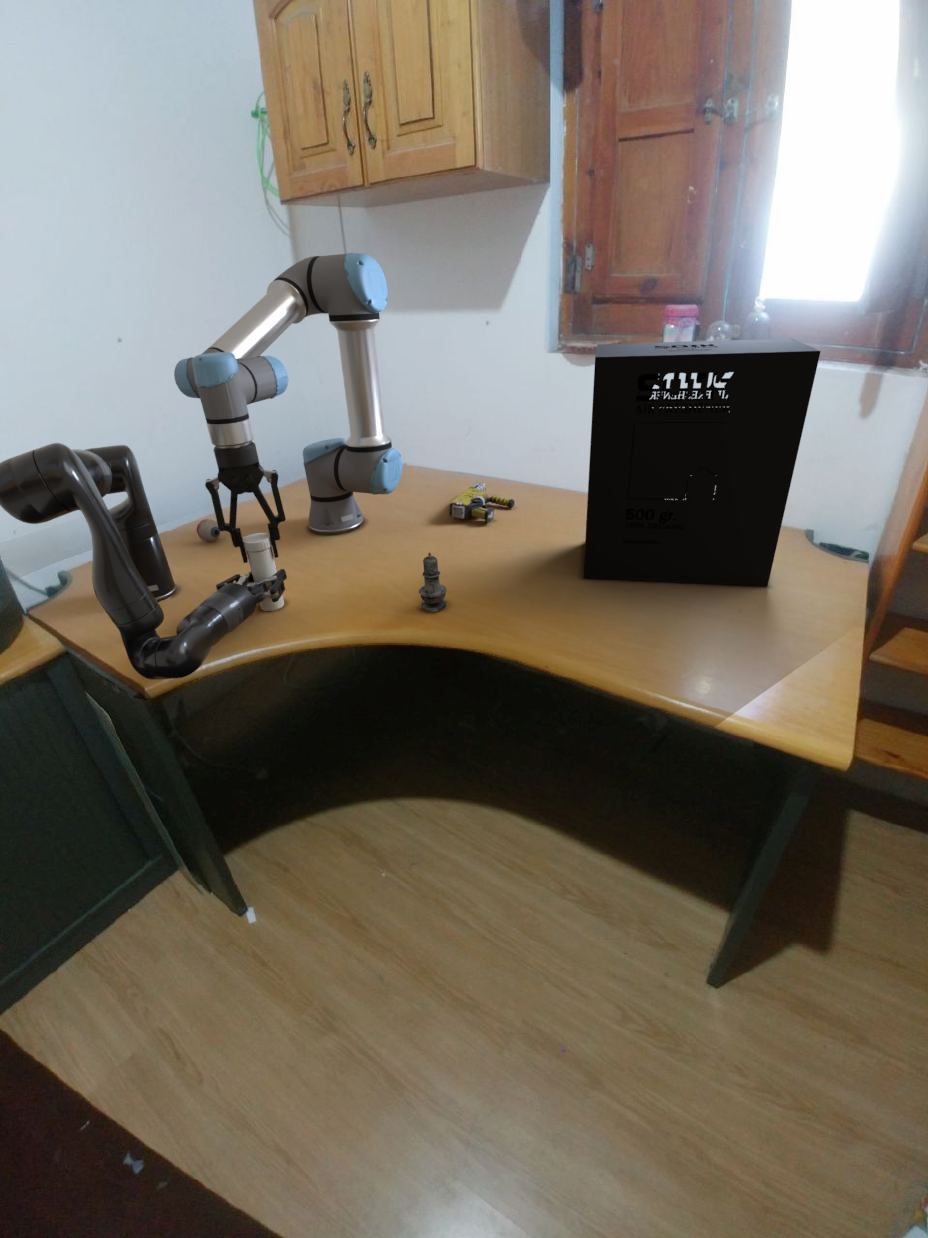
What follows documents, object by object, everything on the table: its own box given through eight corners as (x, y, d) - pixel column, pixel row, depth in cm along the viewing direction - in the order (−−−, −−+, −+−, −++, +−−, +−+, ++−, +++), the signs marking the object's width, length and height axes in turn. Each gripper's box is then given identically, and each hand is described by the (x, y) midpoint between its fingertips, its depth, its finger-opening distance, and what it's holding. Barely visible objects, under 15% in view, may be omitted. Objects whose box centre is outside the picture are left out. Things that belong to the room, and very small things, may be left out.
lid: (247, 542, 125) (245, 533, 124) (275, 540, 125) (273, 531, 124) (241, 552, 120) (238, 544, 119) (269, 550, 120) (267, 542, 119)
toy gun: (522, 487, 180) (475, 480, 184) (500, 511, 160) (447, 502, 164) (521, 502, 182) (474, 495, 186) (499, 527, 162) (447, 519, 166)
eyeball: (210, 546, 160) (204, 525, 157) (195, 542, 163) (189, 521, 160) (228, 538, 164) (223, 518, 161) (213, 535, 167) (208, 514, 164)
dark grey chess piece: (444, 613, 122) (440, 559, 116) (416, 611, 123) (411, 558, 117) (450, 599, 127) (447, 547, 121) (424, 598, 128) (419, 546, 122)
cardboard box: (748, 547, 142) (790, 338, 120) (767, 586, 125) (820, 350, 103) (586, 541, 150) (597, 344, 127) (583, 577, 133) (595, 357, 110)
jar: (275, 598, 132) (259, 533, 125) (288, 604, 130) (274, 538, 122) (256, 607, 129) (239, 541, 122) (269, 613, 126) (253, 546, 119)
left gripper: (253, 596, 111) (299, 558, 125) (187, 590, 114) (239, 553, 128) (262, 631, 114) (305, 590, 128) (198, 624, 118) (247, 585, 132)
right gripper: (282, 433, 118) (304, 543, 129) (182, 445, 113) (214, 558, 125) (285, 441, 111) (308, 556, 123) (179, 454, 107) (213, 573, 118)
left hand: (272, 572), depth 128 cm, fingers closed on jar, 5 cm apart
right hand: (261, 557), depth 124 cm, fingers closed on lid, 5 cm apart
